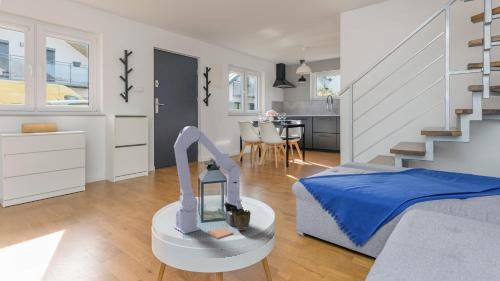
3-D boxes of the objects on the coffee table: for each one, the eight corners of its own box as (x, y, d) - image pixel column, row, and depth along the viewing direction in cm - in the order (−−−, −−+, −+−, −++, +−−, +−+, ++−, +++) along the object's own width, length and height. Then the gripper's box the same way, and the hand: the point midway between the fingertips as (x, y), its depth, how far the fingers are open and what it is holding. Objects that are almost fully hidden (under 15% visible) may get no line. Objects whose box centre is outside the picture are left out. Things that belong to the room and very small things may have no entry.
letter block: (226, 222, 129) (226, 211, 129) (236, 220, 131) (236, 209, 131) (230, 226, 124) (230, 214, 124) (240, 224, 127) (240, 213, 126)
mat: (206, 233, 117) (206, 231, 117) (222, 228, 122) (222, 227, 122) (217, 239, 111) (217, 237, 111) (233, 233, 116) (233, 232, 116)
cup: (239, 235, 114) (239, 215, 114) (229, 229, 120) (229, 211, 120) (254, 231, 119) (254, 212, 118) (244, 225, 125) (244, 208, 124)
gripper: (248, 193, 122) (248, 224, 123) (235, 186, 135) (235, 214, 136) (233, 195, 119) (233, 226, 120) (221, 188, 132) (221, 216, 133)
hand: (233, 220), depth 128 cm, fingers closed on letter block, 5 cm apart
